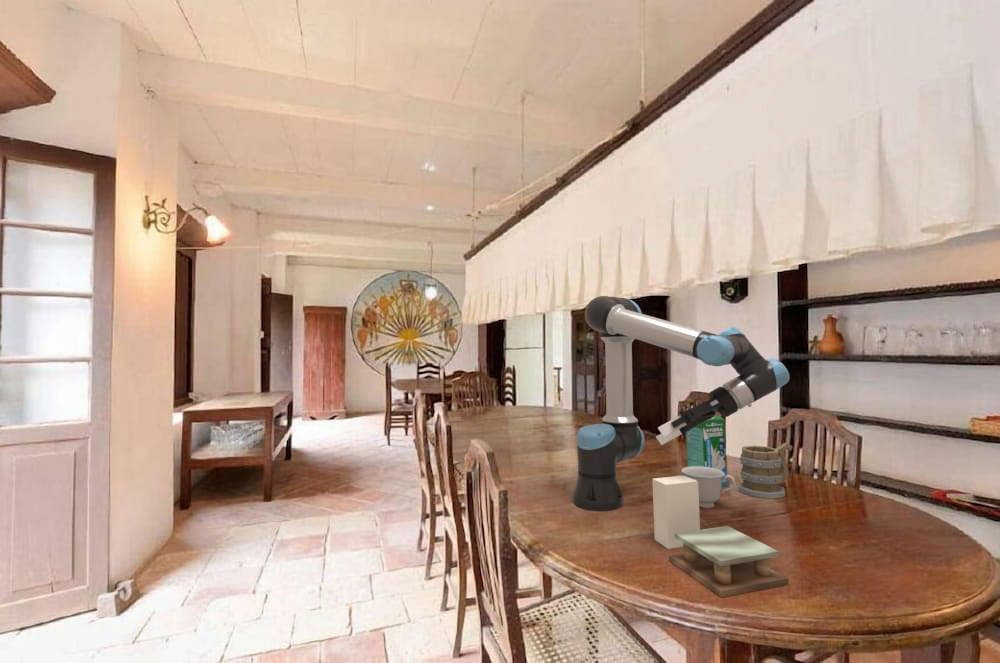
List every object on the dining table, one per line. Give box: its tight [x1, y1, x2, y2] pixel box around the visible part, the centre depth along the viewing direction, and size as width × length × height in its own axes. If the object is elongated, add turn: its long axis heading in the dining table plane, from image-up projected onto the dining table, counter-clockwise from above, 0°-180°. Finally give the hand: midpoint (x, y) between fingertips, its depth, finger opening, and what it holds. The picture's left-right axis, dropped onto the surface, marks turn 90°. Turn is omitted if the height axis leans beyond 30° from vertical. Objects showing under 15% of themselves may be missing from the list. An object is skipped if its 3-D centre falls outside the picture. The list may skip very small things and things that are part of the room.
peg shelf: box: [668, 525, 790, 598], centre depth 96 cm, size 16×16×6 cm
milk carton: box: [685, 414, 728, 487], centre depth 159 cm, size 9×9×25 cm
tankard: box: [738, 442, 793, 500], centre depth 149 cm, size 20×13×15 cm, turn 105°
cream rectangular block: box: [652, 474, 701, 550], centre depth 112 cm, size 6×9×15 cm, turn 105°
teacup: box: [680, 466, 736, 509], centre depth 137 cm, size 12×15×10 cm
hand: (659, 437), depth 122 cm, fingers open, 13 cm apart
